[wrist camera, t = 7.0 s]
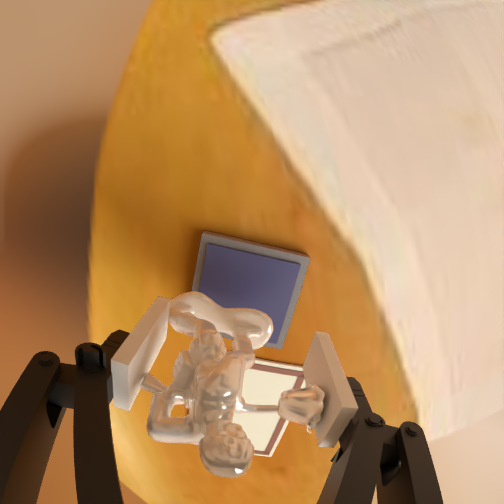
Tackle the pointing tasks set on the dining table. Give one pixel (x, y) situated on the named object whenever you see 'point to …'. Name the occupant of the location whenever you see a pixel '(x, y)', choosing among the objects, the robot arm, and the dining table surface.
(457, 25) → the dining table surface
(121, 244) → the dining table surface
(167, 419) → the figurine
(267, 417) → the print sheet
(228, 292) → the ink pad
